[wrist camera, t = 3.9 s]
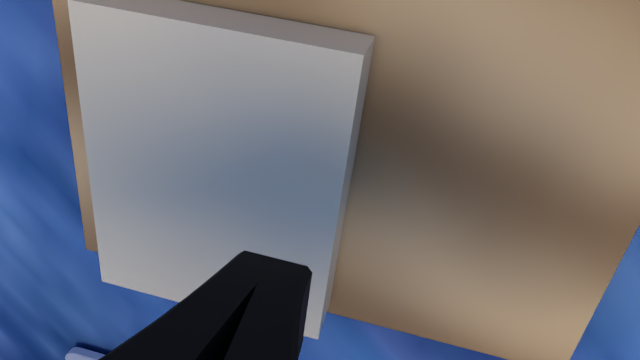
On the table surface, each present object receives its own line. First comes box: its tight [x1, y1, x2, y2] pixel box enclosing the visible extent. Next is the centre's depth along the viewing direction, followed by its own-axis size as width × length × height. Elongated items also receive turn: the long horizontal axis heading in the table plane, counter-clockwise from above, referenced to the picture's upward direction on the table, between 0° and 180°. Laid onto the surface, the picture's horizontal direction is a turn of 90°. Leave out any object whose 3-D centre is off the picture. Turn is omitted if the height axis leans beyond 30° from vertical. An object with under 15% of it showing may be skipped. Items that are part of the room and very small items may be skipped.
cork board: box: [52, 0, 640, 360], centre depth 14 cm, size 12×15×1 cm
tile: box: [67, 0, 375, 340], centre depth 14 cm, size 8×2×6 cm
